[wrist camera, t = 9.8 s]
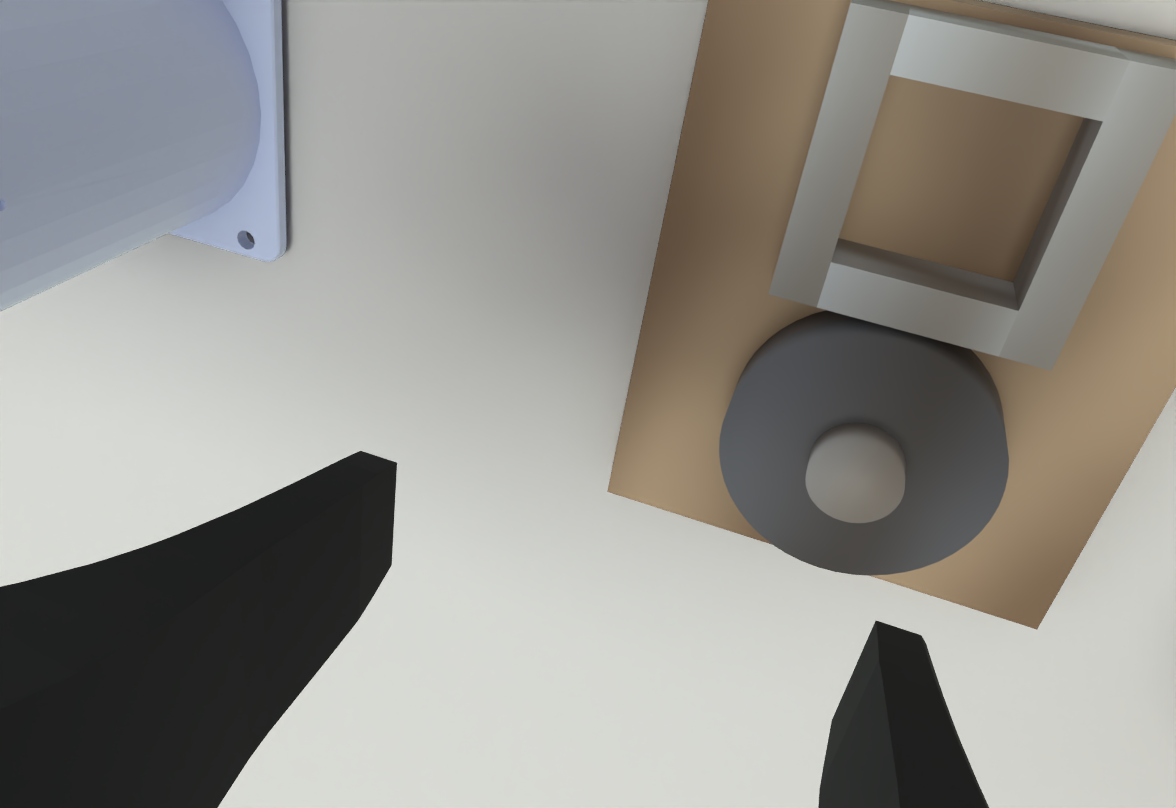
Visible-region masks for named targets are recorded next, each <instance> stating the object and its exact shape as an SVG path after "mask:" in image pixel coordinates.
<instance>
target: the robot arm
mask: <svg viewBox="0 0 1176 808" xmlns="http://www.w3.org/2000/svg"><path fill="white" fill-rule="evenodd" d="M246 231H247V232H249V233H250V234H251V235H252V236H253V238H254V242H255V244H253V243H252V242H250V240H249V239H248V237H247V234H246ZM168 233H169V234H172V235H176V236H179V237H182V238H186V239H189V240H193V241H196V242H199V243H203V244H206V245H210V246H213V247H216V248H220V249H223V250H227V251H230V252H234V253H237V254H240V255H244V256H247V257H251V258H254V259H257V260H261V261H264V262H272V261H274V260H276V259H278V258H280V257H281V256H282V255H283V254H284V253H285V251H286V245H287V244H286V198H285V152H284V106H283V60H282V14H281V0H0V311H2V310H5V309H7V308H9V307H11V306H13V305H15V304H17V303H20V302H22V301H24V300H26V299H28V298H30V297H32V296H35V295H37V294H39V293H41V292H43V291H45V290H47V289H50V288H52V287H54V286H56V285H58V284H60V283H63V282H65V281H67V280H69V279H71V278H73V277H75V276H78V275H80V274H82V273H84V272H86V271H88V270H90V269H93V268H95V267H97V266H99V265H101V264H103V263H105V262H108V261H110V260H112V259H114V258H116V257H118V256H120V255H123V254H125V253H127V252H129V251H131V250H133V249H135V248H138V247H140V246H142V245H144V244H146V243H148V242H151V241H153V240H155V239H157V238H159V237H161V236H163V235H166V234H168ZM396 470H397V463H396V462H393V461H390V460H387V459H384V458H381V457H378V456H375V455H372V454H369V453H366V452H362V451H359V452H357V453H355V454H353V455H350V456H348V457H346V458H344V459H342V460H340V461H338V462H336V463H334V464H332V465H329V466H327V467H325V468H323V469H321V470H319V471H317V472H315V473H313V474H311V475H309V476H307V477H305V478H303V479H301V480H299V481H297V482H295V483H293V484H291V485H289V486H287V487H284V488H282V489H280V490H278V491H276V492H274V493H272V494H270V495H267V496H265V497H263V498H261V499H259V500H257V501H255V502H253V503H250V504H248V505H246V506H244V507H242V508H240V509H237V510H235V511H233V512H230V513H228V514H225V515H223V516H221V517H218V518H216V519H213V520H211V521H209V522H206V523H204V524H201V525H199V526H197V527H194V528H192V529H190V530H187V531H185V532H182V533H180V534H178V535H175V536H172V537H170V538H167V539H164V540H162V541H159V542H156V543H153V544H151V545H148V546H145V547H142V548H139V549H136V550H133V551H130V552H127V553H124V554H121V555H118V556H115V557H112V558H109V559H106V560H102V561H99V562H96V563H92V564H89V565H85V566H81V567H78V568H74V569H70V570H66V571H62V572H59V573H55V574H51V575H47V576H43V577H40V578H36V579H32V580H28V581H24V582H20V583H16V584H11V585H7V586H2V587H0V808H217V807H218V806H219V804H220V803H221V801H222V800H223V798H224V797H225V795H226V794H227V792H228V790H229V789H230V787H231V786H232V784H233V783H234V781H235V780H236V778H237V777H238V775H239V774H240V772H241V770H242V769H243V767H244V766H245V764H246V763H247V761H248V760H249V758H250V757H251V755H252V754H253V753H254V751H255V750H256V749H257V747H258V746H259V745H260V743H261V742H262V741H263V739H264V738H265V736H266V735H267V734H268V732H269V731H270V730H271V729H272V727H273V726H274V725H275V724H276V722H277V721H278V720H279V719H280V717H281V716H282V715H283V714H284V713H285V711H286V710H287V709H288V708H289V706H290V705H291V704H292V703H293V701H294V700H295V699H296V698H297V696H298V695H299V694H300V693H301V691H302V690H303V689H304V688H305V686H306V685H307V684H308V683H309V681H310V680H311V679H312V678H313V677H314V675H315V674H316V673H317V672H318V670H319V669H320V668H321V667H322V665H323V664H324V663H325V662H326V660H327V659H328V658H329V657H330V655H331V654H332V653H333V652H334V650H335V649H336V648H337V647H338V645H339V644H340V643H341V641H342V640H343V639H344V638H345V636H346V635H347V634H348V633H349V631H350V630H351V629H352V627H353V626H354V625H355V624H356V622H357V621H358V620H359V618H360V617H361V615H362V613H363V612H364V610H365V609H366V607H367V605H368V604H369V602H370V601H371V599H372V597H373V596H374V594H375V592H376V591H377V589H378V587H379V585H380V584H381V582H382V580H383V579H384V577H385V575H386V574H387V572H388V570H389V568H390V567H391V565H392V546H393V527H394V508H395V489H396ZM819 808H989V806H988V804H987V802H986V800H985V798H984V795H983V793H982V791H981V789H980V787H979V784H978V782H977V780H976V777H975V775H974V773H973V770H972V768H971V765H970V763H969V761H968V758H967V756H966V754H965V751H964V749H963V746H962V744H961V742H960V739H959V737H958V734H957V731H956V729H955V726H954V724H953V721H952V718H951V716H950V713H949V710H948V708H947V705H946V702H945V699H944V697H943V694H942V691H941V688H940V685H939V682H938V679H937V676H936V673H935V670H934V667H933V664H932V661H931V658H930V655H929V652H928V649H927V645H926V643H925V641H924V640H923V638H922V636H921V635H918V634H915V633H912V632H909V631H906V630H903V629H900V628H897V627H894V626H891V625H888V624H885V623H882V622H879V621H875V624H874V626H873V628H872V631H871V633H870V635H869V637H868V640H867V642H866V644H865V646H864V649H863V651H862V653H861V656H860V658H859V660H858V662H857V665H856V667H855V669H854V671H853V674H852V676H851V678H850V681H849V683H848V685H847V687H846V690H845V692H844V694H843V696H842V699H841V701H840V703H839V706H838V708H837V710H836V712H835V715H834V717H833V719H832V723H831V729H830V734H829V739H828V745H827V750H826V756H825V761H824V767H823V773H822V779H821V785H820V794H819Z"/></svg>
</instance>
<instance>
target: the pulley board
mask: <svg viewBox="0 0 1176 808" xmlns="http://www.w3.org/2000/svg"><path fill="white" fill-rule="evenodd" d="M1175 387H1176V40H1171V39H1166V38H1161V37H1156V36H1151V35H1146V34H1141V33H1136V32H1131V31H1126V30H1121V29H1116V28H1111V27H1106V26H1101V25H1096V24H1091V23H1087V22H1082V21H1077V20H1072V19H1067V18H1062V17H1057V16H1052V15H1047V14H1042V13H1037V12H1032V11H1027V10H1022V9H1017V8H1012V7H1007V6H1003V5H998V4H993V3H988V2H983V1H978V0H708V5H707V10H706V15H705V20H704V25H703V30H702V34H701V39H700V44H699V49H698V54H697V59H696V64H695V68H694V73H693V78H692V83H691V88H690V93H689V98H688V102H687V107H686V112H685V117H684V122H683V127H682V132H681V136H680V141H679V146H678V151H677V156H676V161H675V166H674V171H673V175H672V180H671V185H670V190H669V195H668V200H667V205H666V209H665V214H664V219H663V224H662V229H661V234H660V239H659V243H658V248H657V253H656V258H655V263H654V268H653V273H652V277H651V282H650V287H649V292H648V297H647V302H646V307H645V312H644V316H643V321H642V326H641V331H640V336H639V341H638V346H637V350H636V355H635V360H634V365H633V370H632V375H631V380H630V384H629V389H628V394H627V399H626V404H625V409H624V414H623V418H622V423H621V428H620V433H619V438H618V443H617V448H616V452H615V457H614V462H613V467H612V472H611V477H610V482H609V487H608V491H607V492H610V493H613V494H617V495H620V496H623V497H626V498H629V499H632V500H635V501H638V502H641V503H645V504H648V505H651V506H654V507H657V508H660V509H663V510H666V511H670V512H673V513H676V514H679V515H682V516H685V517H688V518H691V519H694V520H698V521H701V522H704V523H707V524H710V525H713V526H716V527H719V528H723V529H726V530H729V531H732V532H735V533H738V534H741V535H744V536H747V537H751V538H754V539H757V540H760V541H763V542H766V543H769V544H772V545H774V546H776V547H777V548H779V549H781V550H782V551H784V552H785V553H787V554H789V555H791V556H793V557H795V558H797V559H799V560H801V561H803V562H806V563H809V564H811V565H814V566H817V567H820V568H824V569H827V570H831V571H835V572H841V573H847V574H855V575H869V576H872V577H875V578H878V579H882V580H885V581H888V582H891V583H894V584H897V585H900V586H903V587H906V588H910V589H913V590H916V591H919V592H922V593H925V594H928V595H931V596H935V597H938V598H941V599H944V600H947V601H950V602H953V603H956V604H959V605H963V606H966V607H969V608H972V609H975V610H978V611H981V612H984V613H988V614H991V615H994V616H997V617H1000V618H1003V619H1006V620H1009V621H1012V622H1016V623H1019V624H1022V625H1025V626H1028V627H1031V628H1034V629H1037V628H1038V627H1039V625H1040V623H1041V621H1042V620H1043V618H1044V616H1045V614H1046V613H1047V611H1048V609H1049V607H1050V606H1051V604H1052V602H1053V600H1054V599H1055V597H1056V595H1057V593H1058V592H1059V590H1060V588H1061V586H1062V585H1063V583H1064V581H1065V579H1066V578H1067V576H1068V574H1069V572H1070V571H1071V569H1072V567H1073V565H1074V564H1075V562H1076V560H1077V558H1078V557H1079V555H1080V553H1081V551H1082V550H1083V548H1084V546H1085V545H1086V543H1087V541H1088V539H1089V538H1090V536H1091V534H1092V532H1093V531H1094V529H1095V527H1096V525H1097V524H1098V522H1099V520H1100V518H1101V517H1102V515H1103V513H1104V511H1105V510H1106V508H1107V506H1108V504H1109V503H1110V501H1111V499H1112V497H1113V496H1114V494H1115V492H1116V490H1117V489H1118V487H1119V485H1120V483H1121V482H1122V480H1123V478H1124V476H1125V475H1126V473H1127V471H1128V469H1129V468H1130V466H1131V464H1132V462H1133V461H1134V459H1135V457H1136V455H1137V454H1138V452H1139V450H1140V448H1141V447H1142V445H1143V443H1144V441H1145V440H1146V438H1147V436H1148V434H1149V433H1150V431H1151V429H1152V427H1153V426H1154V424H1155V422H1156V420H1157V419H1158V417H1159V415H1160V413H1161V412H1162V410H1163V408H1164V406H1165V405H1166V403H1167V401H1168V399H1169V398H1170V396H1171V394H1172V392H1173V391H1174V389H1175Z"/></svg>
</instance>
